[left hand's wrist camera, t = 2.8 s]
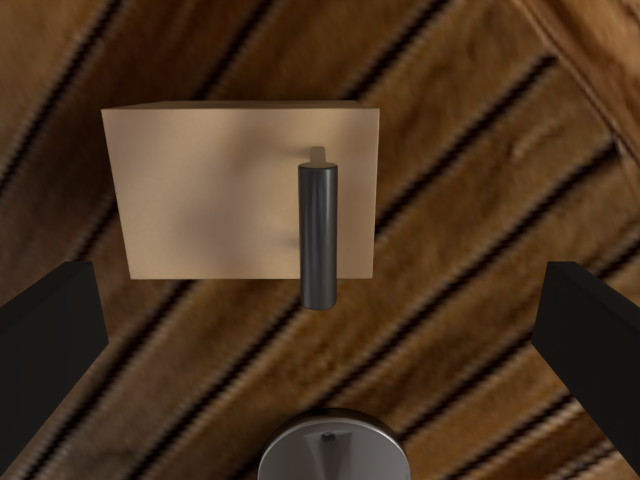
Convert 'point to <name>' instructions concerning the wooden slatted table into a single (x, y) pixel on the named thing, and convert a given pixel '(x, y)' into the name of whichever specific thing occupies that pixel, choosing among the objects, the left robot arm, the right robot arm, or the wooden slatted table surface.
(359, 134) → the lid
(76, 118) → the wooden slatted table surface
